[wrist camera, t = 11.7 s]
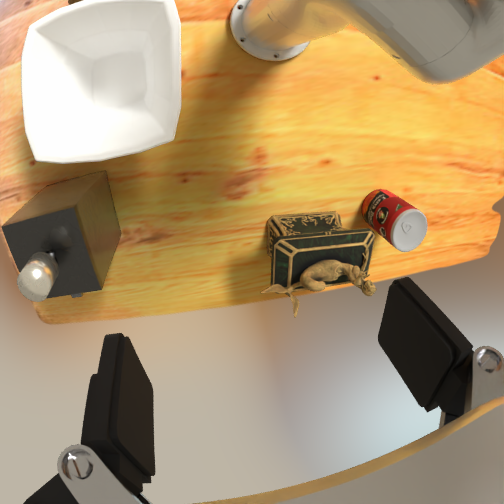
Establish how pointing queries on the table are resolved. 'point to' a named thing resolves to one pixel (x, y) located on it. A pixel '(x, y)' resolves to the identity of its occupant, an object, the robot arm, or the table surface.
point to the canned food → (395, 219)
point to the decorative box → (317, 254)
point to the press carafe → (68, 232)
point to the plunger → (38, 276)
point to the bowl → (102, 80)
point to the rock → (73, 1)
